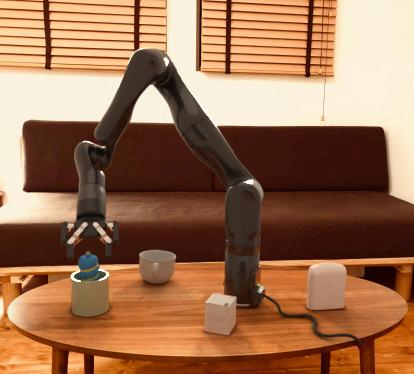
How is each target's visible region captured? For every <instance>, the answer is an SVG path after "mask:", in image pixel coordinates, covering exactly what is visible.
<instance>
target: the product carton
mask: <svg viewBox="0 0 414 374" xmlns="http://www.w3.org/2000/svg"><path fill="white" fill-rule="evenodd" d="M236 298H237V297H234V296H228V295H224V294H223V293H222V294H221V293H217V292H213V293H212V294H211V295H210V297H209V298H207V300H206V301H205V302H204V328H203V329H204V332H207V333H212V334H218V335H222V336H229V335H230V334H231V332H232V331H233V329H234V328H235V326H236V321H237V319H236V318H237V307H236Z"/></svg>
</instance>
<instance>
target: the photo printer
mask: <svg viewBox="0 0 414 374" xmlns="http://www.w3.org/2000/svg"><path fill="white" fill-rule="evenodd" d="M306 287H307V288H306V308H307V309H308V310H309V311H323V310H324V311H325V310H337V309H343V308H344V309H345V301H346V289H347V269H346V266H344V264H342V263H339V262H331V261H326V262H319V263H315V264H313V265H310V266H309V267H308V272H307V286H306Z"/></svg>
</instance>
